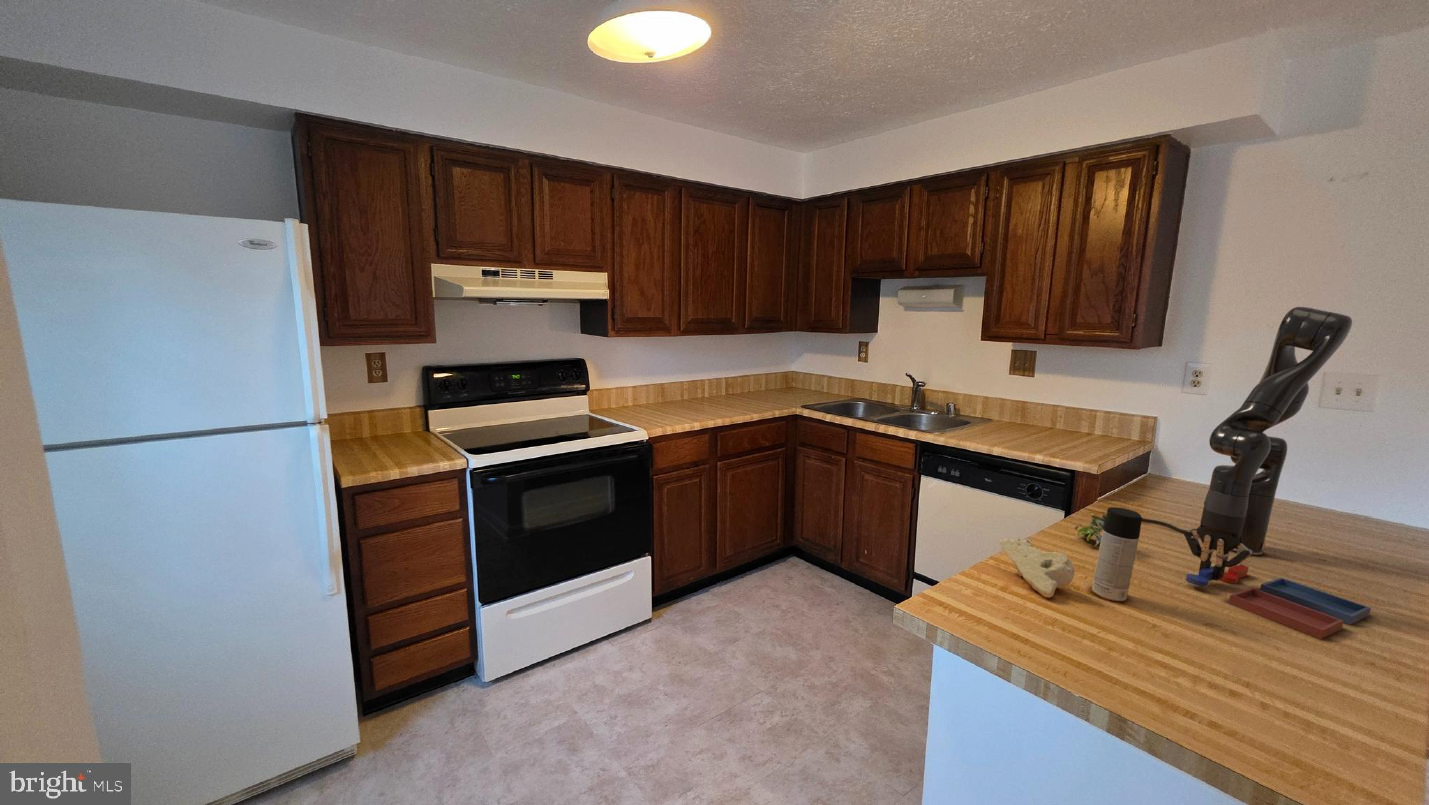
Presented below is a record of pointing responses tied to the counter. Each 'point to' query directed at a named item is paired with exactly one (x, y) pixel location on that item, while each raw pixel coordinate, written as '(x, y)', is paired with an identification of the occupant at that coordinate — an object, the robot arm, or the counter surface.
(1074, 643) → the counter surface
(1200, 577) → the blue spoon
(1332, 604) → the blue tray
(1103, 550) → the spray can
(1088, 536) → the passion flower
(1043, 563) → the bone fragment
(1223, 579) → the red spoon
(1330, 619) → the red tray
